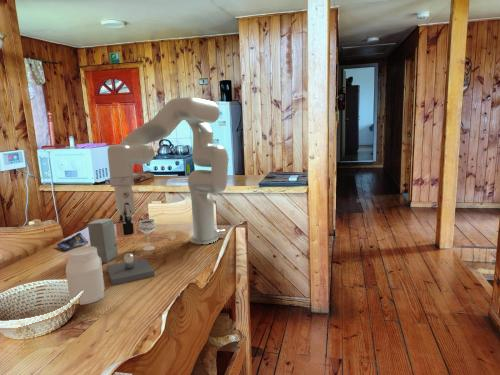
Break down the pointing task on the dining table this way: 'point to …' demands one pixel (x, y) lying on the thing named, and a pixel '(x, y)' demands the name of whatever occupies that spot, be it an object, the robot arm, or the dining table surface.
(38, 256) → the dining table surface
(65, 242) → the snack package
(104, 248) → the skincare box
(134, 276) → the post stand
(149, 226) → the wineglass
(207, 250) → the dining table surface
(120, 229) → the orange dial knob
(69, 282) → the jar
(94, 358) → the dining table surface
